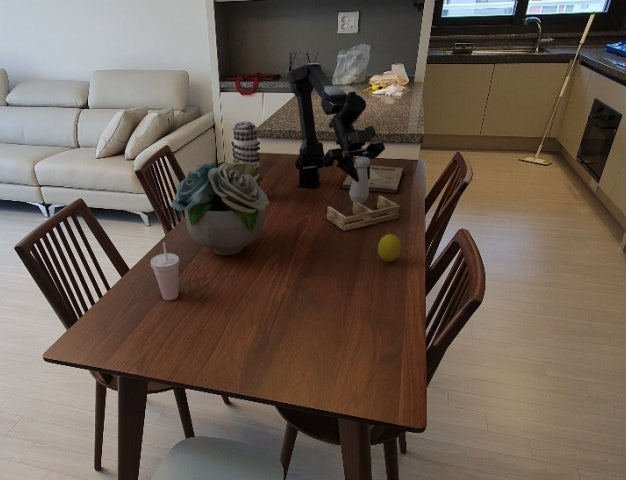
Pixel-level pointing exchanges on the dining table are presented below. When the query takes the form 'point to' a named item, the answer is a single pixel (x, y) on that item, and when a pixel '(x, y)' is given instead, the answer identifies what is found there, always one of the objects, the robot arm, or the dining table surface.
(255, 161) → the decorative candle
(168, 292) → the smoothie
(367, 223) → the rack
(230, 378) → the dining table surface
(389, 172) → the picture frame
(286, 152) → the dining table surface
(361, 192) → the salt shaker
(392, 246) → the lemon
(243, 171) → the flower arrangement
